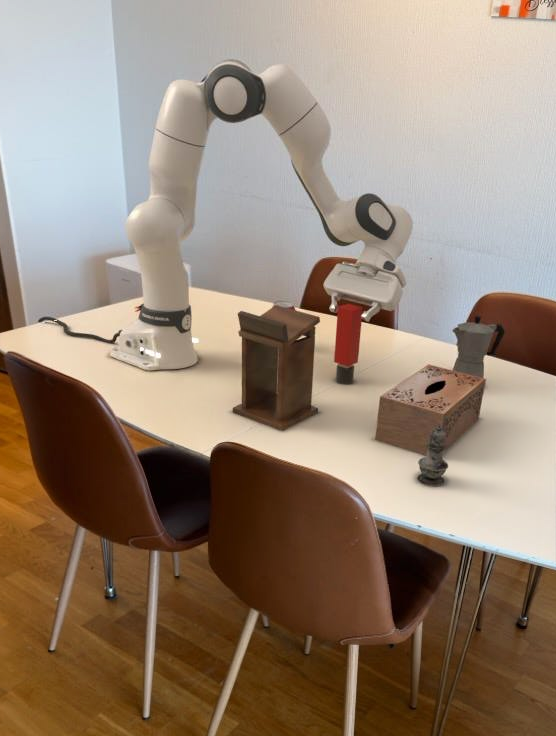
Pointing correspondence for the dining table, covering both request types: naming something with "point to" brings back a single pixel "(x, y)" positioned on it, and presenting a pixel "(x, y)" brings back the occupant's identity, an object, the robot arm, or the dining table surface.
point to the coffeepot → (475, 346)
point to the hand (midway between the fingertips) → (348, 315)
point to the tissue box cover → (429, 408)
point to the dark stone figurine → (433, 459)
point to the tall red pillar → (347, 341)
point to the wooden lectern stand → (277, 366)
